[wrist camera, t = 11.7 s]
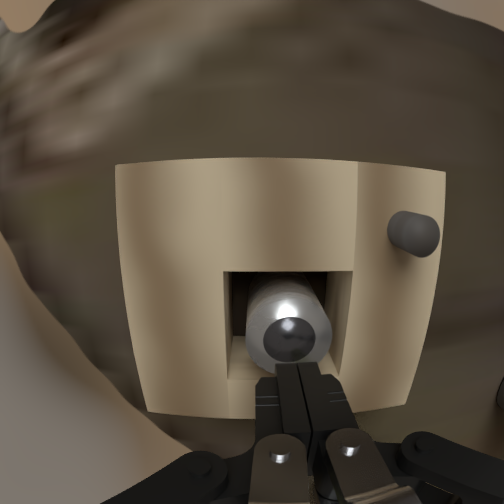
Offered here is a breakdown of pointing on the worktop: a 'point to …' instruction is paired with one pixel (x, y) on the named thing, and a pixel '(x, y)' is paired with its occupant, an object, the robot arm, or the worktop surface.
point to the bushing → (285, 320)
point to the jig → (275, 259)
